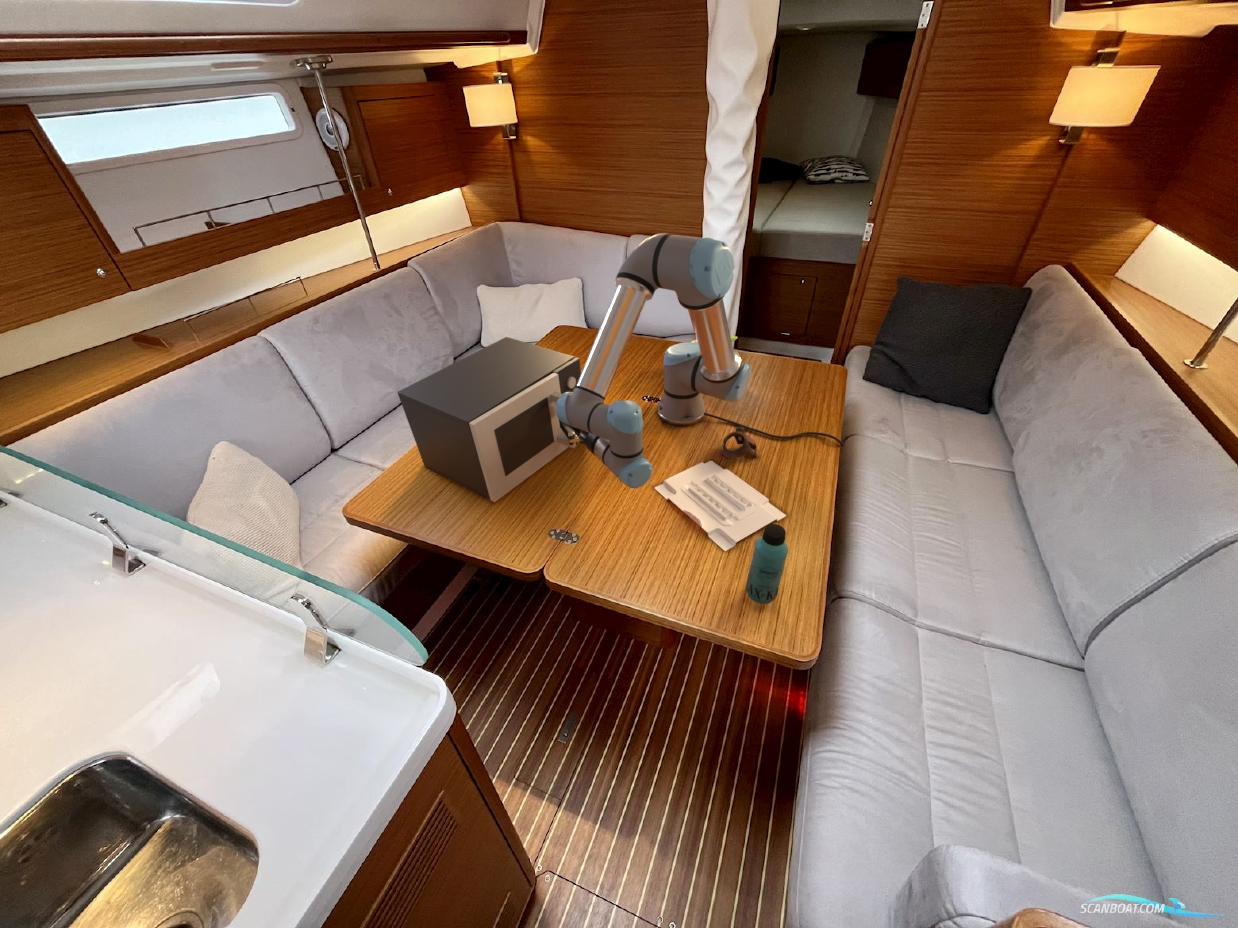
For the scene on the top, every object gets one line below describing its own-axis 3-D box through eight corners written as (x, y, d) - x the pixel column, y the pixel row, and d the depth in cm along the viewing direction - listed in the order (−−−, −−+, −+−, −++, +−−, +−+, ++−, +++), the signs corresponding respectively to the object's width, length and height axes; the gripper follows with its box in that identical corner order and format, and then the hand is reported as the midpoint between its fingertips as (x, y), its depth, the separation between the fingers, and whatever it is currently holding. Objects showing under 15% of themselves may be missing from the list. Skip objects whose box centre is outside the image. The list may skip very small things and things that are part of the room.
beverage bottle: (740, 585, 107) (751, 519, 94) (771, 583, 107) (786, 516, 95) (749, 611, 102) (762, 544, 89) (781, 608, 102) (798, 541, 90)
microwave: (589, 431, 157) (581, 358, 141) (496, 503, 132) (474, 425, 116) (519, 405, 171) (506, 336, 156) (424, 466, 146) (397, 391, 131)
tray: (711, 460, 142) (712, 449, 139) (786, 518, 124) (789, 507, 121) (653, 488, 133) (653, 477, 131) (724, 554, 115) (726, 544, 113)
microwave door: (583, 454, 147) (574, 379, 132) (510, 511, 129) (490, 432, 114) (564, 445, 151) (553, 372, 135) (490, 500, 132) (468, 422, 117)
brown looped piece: (761, 465, 140) (752, 448, 134) (729, 474, 144) (719, 458, 138) (757, 432, 147) (747, 416, 141) (726, 442, 151) (716, 426, 145)
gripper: (580, 468, 121) (539, 425, 138) (631, 447, 128) (586, 408, 144) (577, 443, 117) (535, 402, 133) (631, 422, 123) (584, 385, 139)
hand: (562, 405), depth 138 cm, fingers closed on microwave door, 2 cm apart
